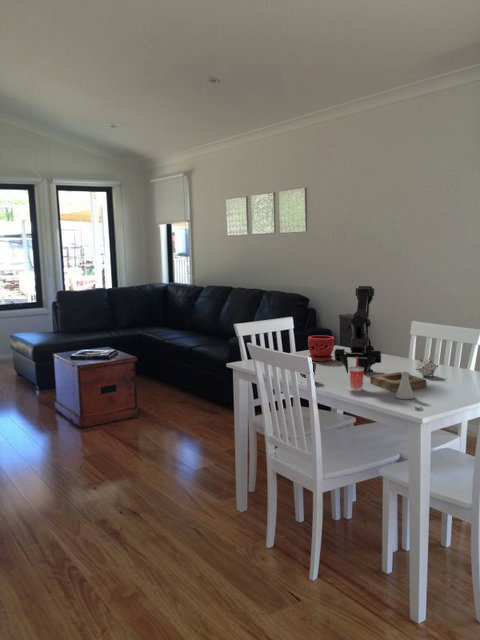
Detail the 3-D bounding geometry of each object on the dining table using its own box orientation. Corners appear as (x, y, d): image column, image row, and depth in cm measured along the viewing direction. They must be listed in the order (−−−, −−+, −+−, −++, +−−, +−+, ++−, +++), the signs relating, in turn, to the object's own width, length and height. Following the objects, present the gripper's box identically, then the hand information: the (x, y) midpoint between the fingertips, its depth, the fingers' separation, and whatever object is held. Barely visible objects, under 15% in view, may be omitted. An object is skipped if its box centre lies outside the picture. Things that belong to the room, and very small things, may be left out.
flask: (392, 395, 227) (393, 370, 225) (410, 394, 227) (411, 369, 226) (399, 400, 220) (399, 374, 218) (417, 399, 220) (418, 374, 219)
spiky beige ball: (430, 385, 255) (439, 370, 248) (411, 378, 256) (420, 363, 249) (432, 372, 261) (441, 357, 255) (414, 364, 263) (423, 350, 256)
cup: (305, 384, 246) (305, 365, 245) (295, 380, 253) (295, 362, 252) (319, 381, 250) (319, 363, 248) (309, 378, 256) (309, 360, 255)
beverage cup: (353, 386, 240) (353, 353, 238) (366, 389, 237) (367, 355, 235) (346, 389, 236) (346, 356, 234) (359, 392, 232) (360, 358, 230)
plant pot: (335, 362, 288) (336, 338, 286) (309, 362, 288) (309, 338, 287) (332, 356, 301) (332, 334, 299) (306, 357, 301) (306, 334, 300)
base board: (370, 383, 246) (370, 375, 245) (401, 379, 252) (401, 371, 251) (394, 392, 231) (394, 384, 231) (426, 387, 237) (426, 380, 237)
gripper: (335, 329, 239) (331, 361, 230) (381, 330, 234) (379, 363, 225) (337, 345, 248) (333, 376, 239) (382, 346, 242) (380, 378, 234)
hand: (356, 373), depth 234 cm, fingers open, 7 cm apart
